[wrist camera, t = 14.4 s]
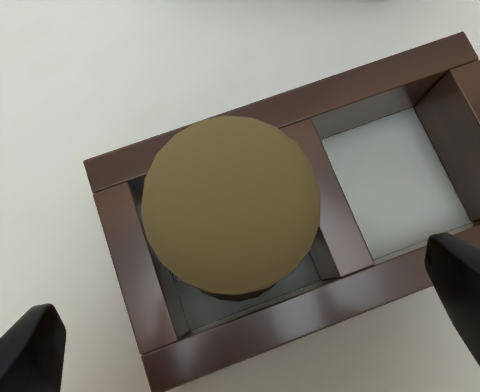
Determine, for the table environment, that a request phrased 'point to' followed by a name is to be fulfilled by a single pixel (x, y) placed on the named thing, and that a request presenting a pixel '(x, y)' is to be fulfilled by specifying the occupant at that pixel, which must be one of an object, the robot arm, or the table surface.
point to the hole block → (331, 212)
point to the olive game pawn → (231, 206)
